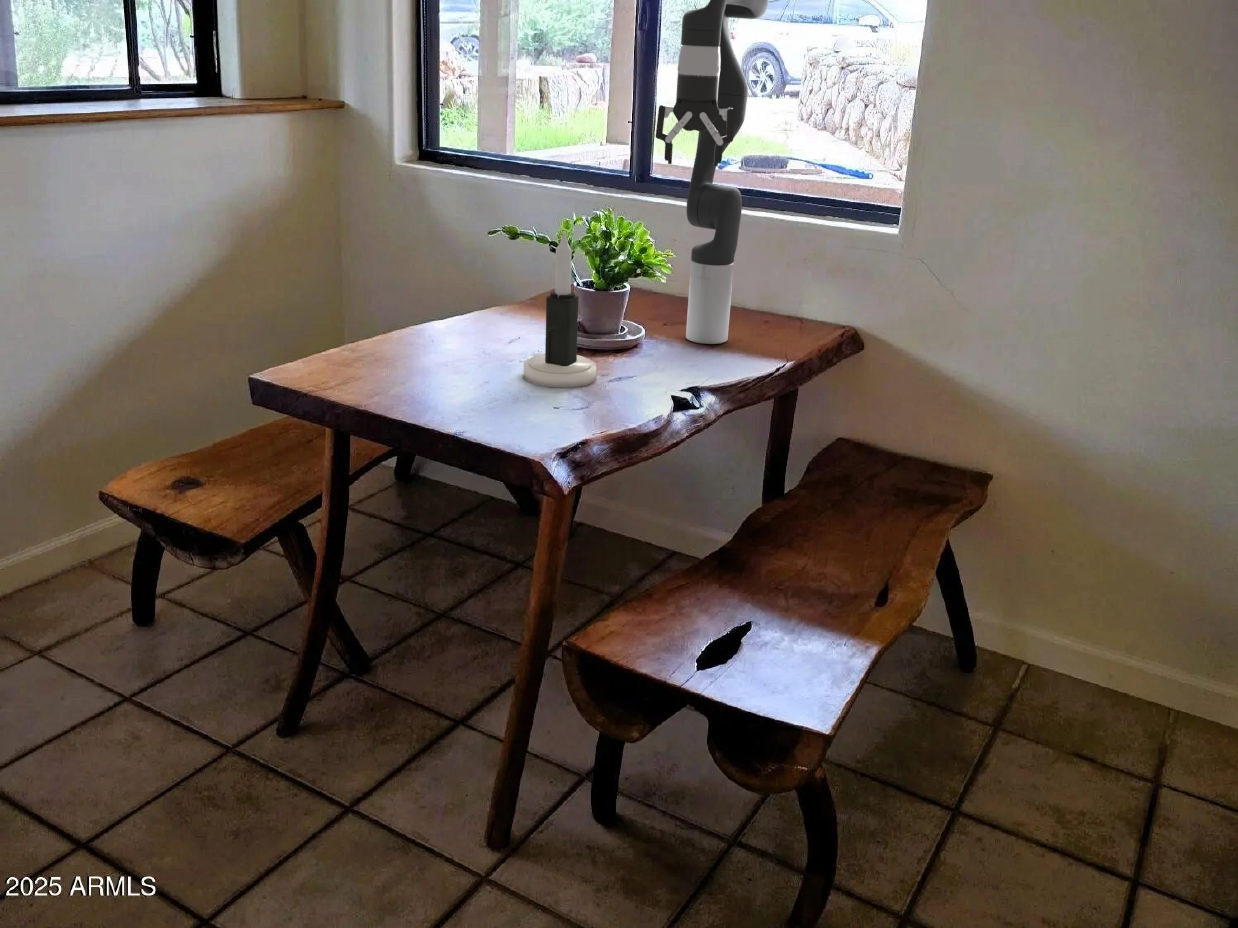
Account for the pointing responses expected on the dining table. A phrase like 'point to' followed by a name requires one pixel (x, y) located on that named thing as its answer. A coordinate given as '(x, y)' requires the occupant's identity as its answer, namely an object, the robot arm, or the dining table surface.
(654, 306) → the dining table surface
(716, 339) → the robot arm
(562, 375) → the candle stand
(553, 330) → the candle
